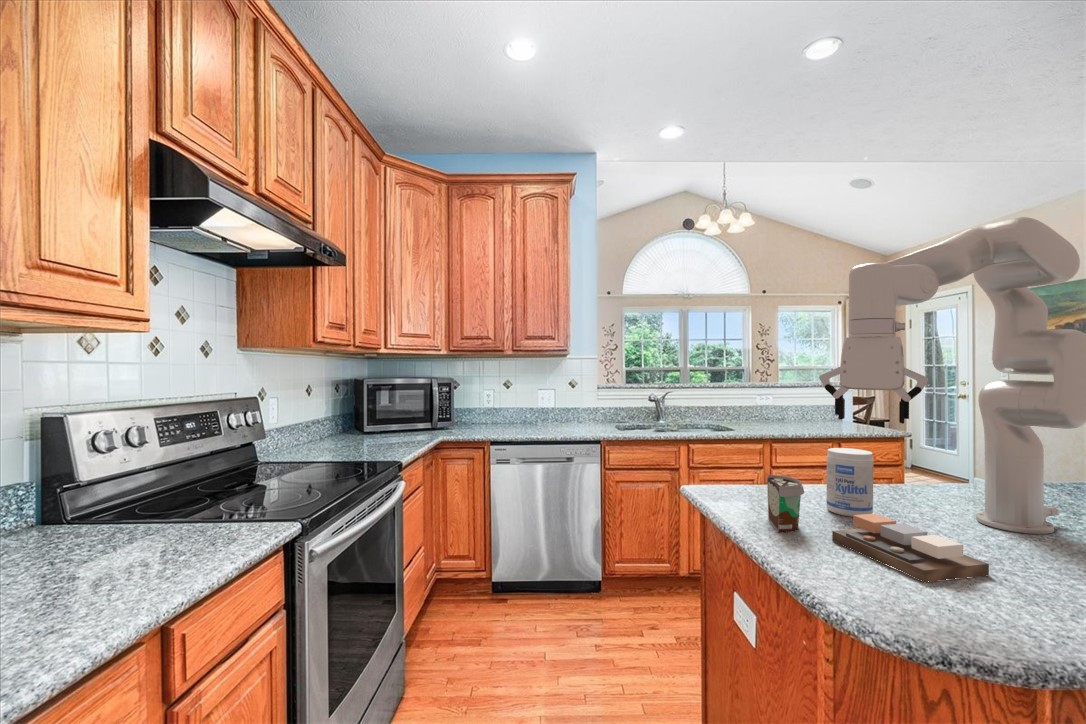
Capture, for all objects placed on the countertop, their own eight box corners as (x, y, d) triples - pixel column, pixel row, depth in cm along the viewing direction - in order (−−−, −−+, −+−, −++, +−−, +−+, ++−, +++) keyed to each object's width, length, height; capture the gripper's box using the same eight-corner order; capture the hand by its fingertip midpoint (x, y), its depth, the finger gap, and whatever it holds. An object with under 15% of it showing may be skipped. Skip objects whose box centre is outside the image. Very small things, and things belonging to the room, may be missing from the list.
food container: (812, 536, 106) (812, 488, 106) (780, 534, 107) (780, 486, 107) (795, 518, 118) (795, 475, 118) (766, 517, 119) (766, 474, 119)
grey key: (902, 533, 98) (902, 523, 98) (927, 543, 93) (927, 531, 93) (880, 535, 97) (880, 525, 97) (904, 545, 92) (903, 533, 92)
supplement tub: (836, 517, 119) (835, 453, 119) (820, 506, 128) (819, 447, 128) (881, 519, 117) (881, 454, 117) (862, 507, 127) (861, 447, 127)
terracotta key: (874, 523, 104) (874, 513, 104) (896, 531, 99) (896, 521, 99) (853, 525, 103) (853, 515, 103) (873, 533, 98) (873, 522, 98)
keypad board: (887, 536, 106) (887, 522, 106) (988, 575, 86) (988, 558, 86) (832, 540, 103) (832, 526, 103) (924, 582, 84) (924, 564, 84)
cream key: (935, 545, 91) (935, 534, 91) (963, 556, 86) (963, 544, 86) (911, 548, 90) (911, 536, 90) (938, 558, 86) (938, 546, 86)
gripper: (928, 330, 95) (928, 422, 95) (823, 332, 105) (822, 416, 105) (929, 327, 89) (928, 426, 89) (816, 330, 99) (816, 419, 99)
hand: (870, 420), depth 97 cm, fingers open, 9 cm apart
